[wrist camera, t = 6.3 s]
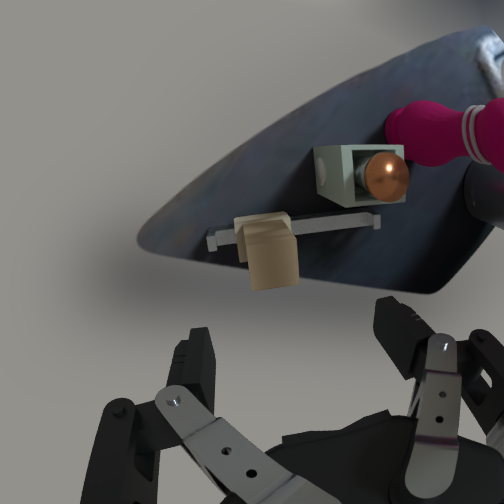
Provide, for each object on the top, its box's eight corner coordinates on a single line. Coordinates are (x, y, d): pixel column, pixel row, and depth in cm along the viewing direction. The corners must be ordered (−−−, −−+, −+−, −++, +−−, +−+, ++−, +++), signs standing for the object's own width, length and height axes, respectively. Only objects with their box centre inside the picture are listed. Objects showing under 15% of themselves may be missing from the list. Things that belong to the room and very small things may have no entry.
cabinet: (363, 144, 27) (403, 145, 20) (366, 189, 29) (405, 201, 21) (310, 147, 27) (338, 145, 20) (315, 193, 29) (343, 207, 21)
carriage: (283, 209, 28) (306, 236, 19) (286, 243, 29) (309, 283, 20) (234, 216, 28) (234, 246, 19) (239, 250, 29) (242, 293, 20)
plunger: (374, 151, 23) (408, 152, 18) (376, 189, 25) (409, 200, 19) (338, 152, 23) (366, 152, 18) (341, 192, 25) (369, 204, 19)
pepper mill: (370, 118, 26) (518, 102, 7) (411, 96, 25) (547, 80, 7) (397, 173, 29) (540, 214, 10) (435, 149, 28) (568, 171, 9)
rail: (365, 207, 30) (380, 214, 26) (366, 220, 30) (380, 228, 27) (209, 227, 29) (206, 236, 26) (211, 240, 30) (208, 251, 27)
